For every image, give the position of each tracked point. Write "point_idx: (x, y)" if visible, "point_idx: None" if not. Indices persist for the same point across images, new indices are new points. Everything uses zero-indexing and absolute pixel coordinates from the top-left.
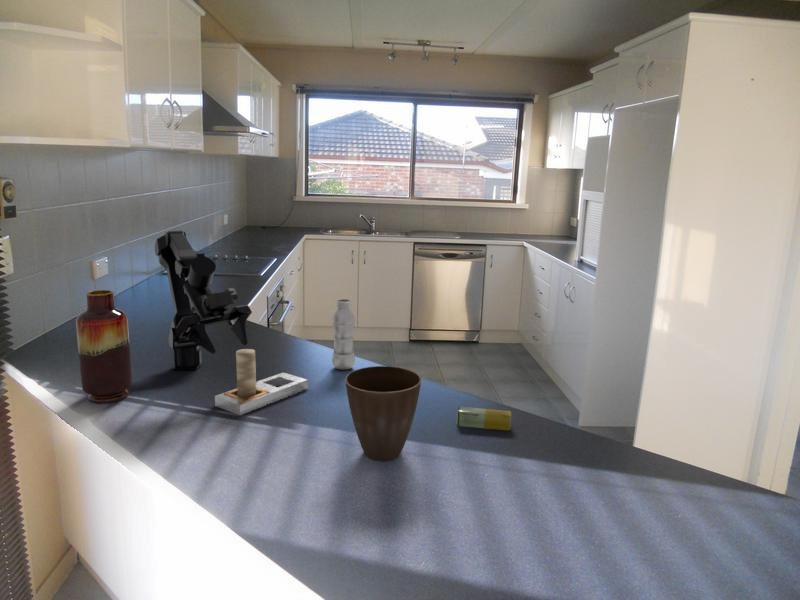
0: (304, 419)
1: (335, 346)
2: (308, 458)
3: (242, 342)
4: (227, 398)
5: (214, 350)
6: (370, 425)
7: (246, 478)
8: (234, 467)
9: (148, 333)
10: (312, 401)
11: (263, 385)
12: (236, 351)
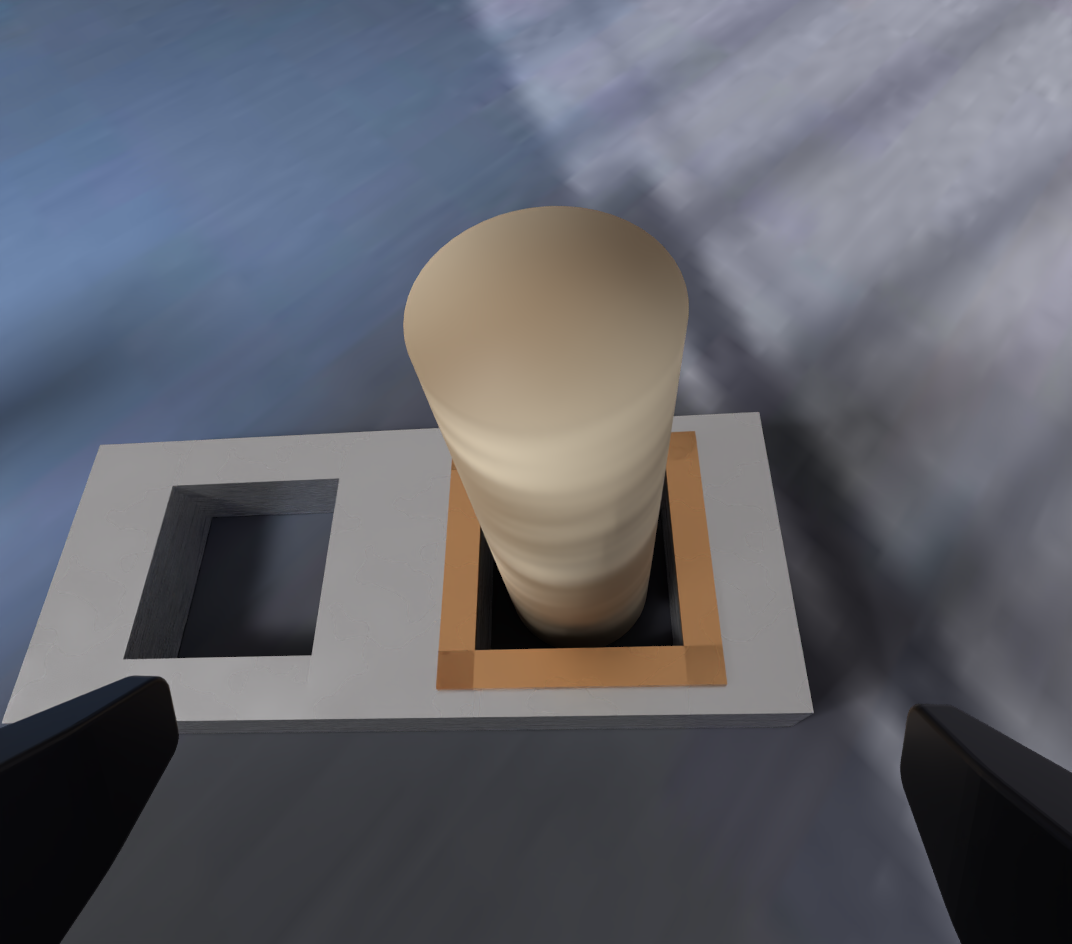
0: (527, 208)
1: None
2: (774, 4)
3: (127, 803)
4: (757, 578)
5: (944, 714)
6: None
7: (1052, 16)
8: (1060, 81)
9: None
10: (312, 328)
11: (365, 593)
12: (634, 393)
